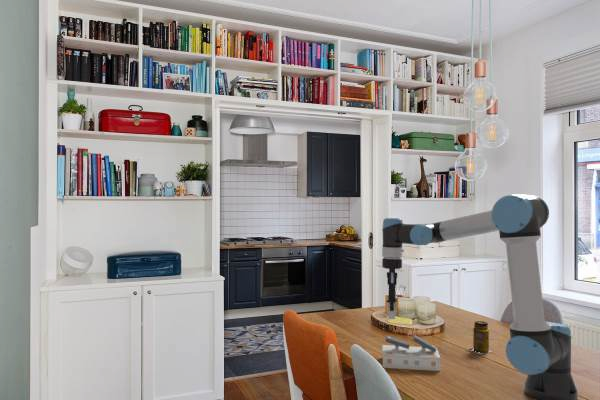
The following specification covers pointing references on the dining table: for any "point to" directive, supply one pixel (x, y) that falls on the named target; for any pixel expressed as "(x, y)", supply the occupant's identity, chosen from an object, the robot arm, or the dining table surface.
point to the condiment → (480, 338)
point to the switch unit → (410, 358)
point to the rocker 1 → (397, 342)
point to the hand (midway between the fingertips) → (391, 318)
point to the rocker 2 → (424, 343)
